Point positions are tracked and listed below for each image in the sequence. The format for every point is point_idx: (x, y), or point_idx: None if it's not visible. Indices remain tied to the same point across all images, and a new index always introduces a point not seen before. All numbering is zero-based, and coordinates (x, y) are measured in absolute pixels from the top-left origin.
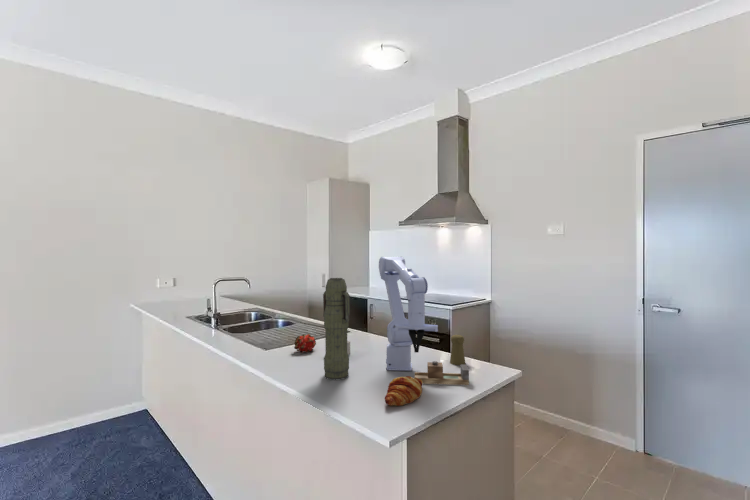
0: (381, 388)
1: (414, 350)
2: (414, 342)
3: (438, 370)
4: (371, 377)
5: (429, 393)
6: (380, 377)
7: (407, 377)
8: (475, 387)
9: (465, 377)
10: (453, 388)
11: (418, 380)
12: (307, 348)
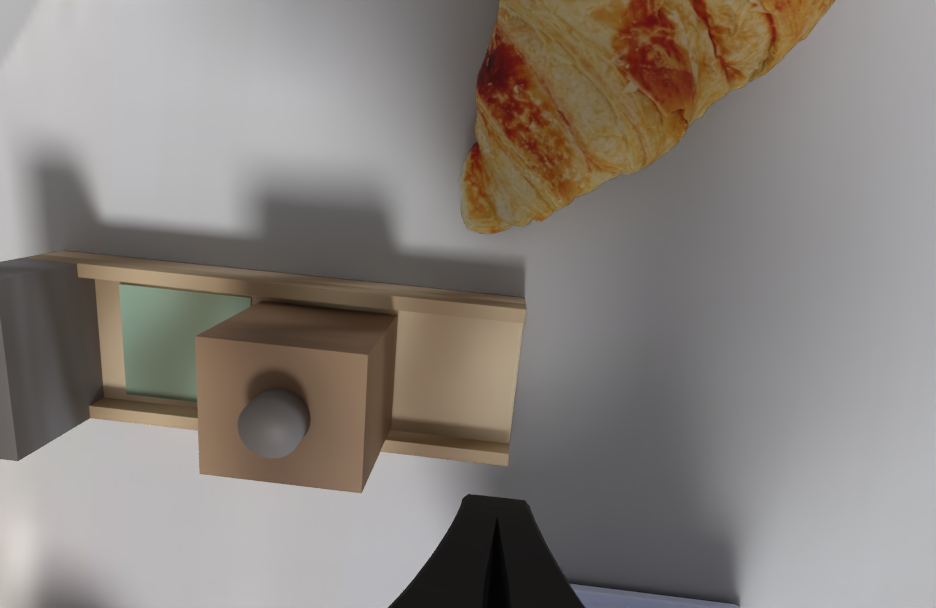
0: (858, 172)
1: (532, 515)
2: (545, 605)
3: (265, 328)
4: (909, 447)
5: (416, 51)
6: (822, 445)
7: (660, 19)
8: (12, 201)
9: (35, 264)
10: (195, 177)
11: (512, 86)
12: None
